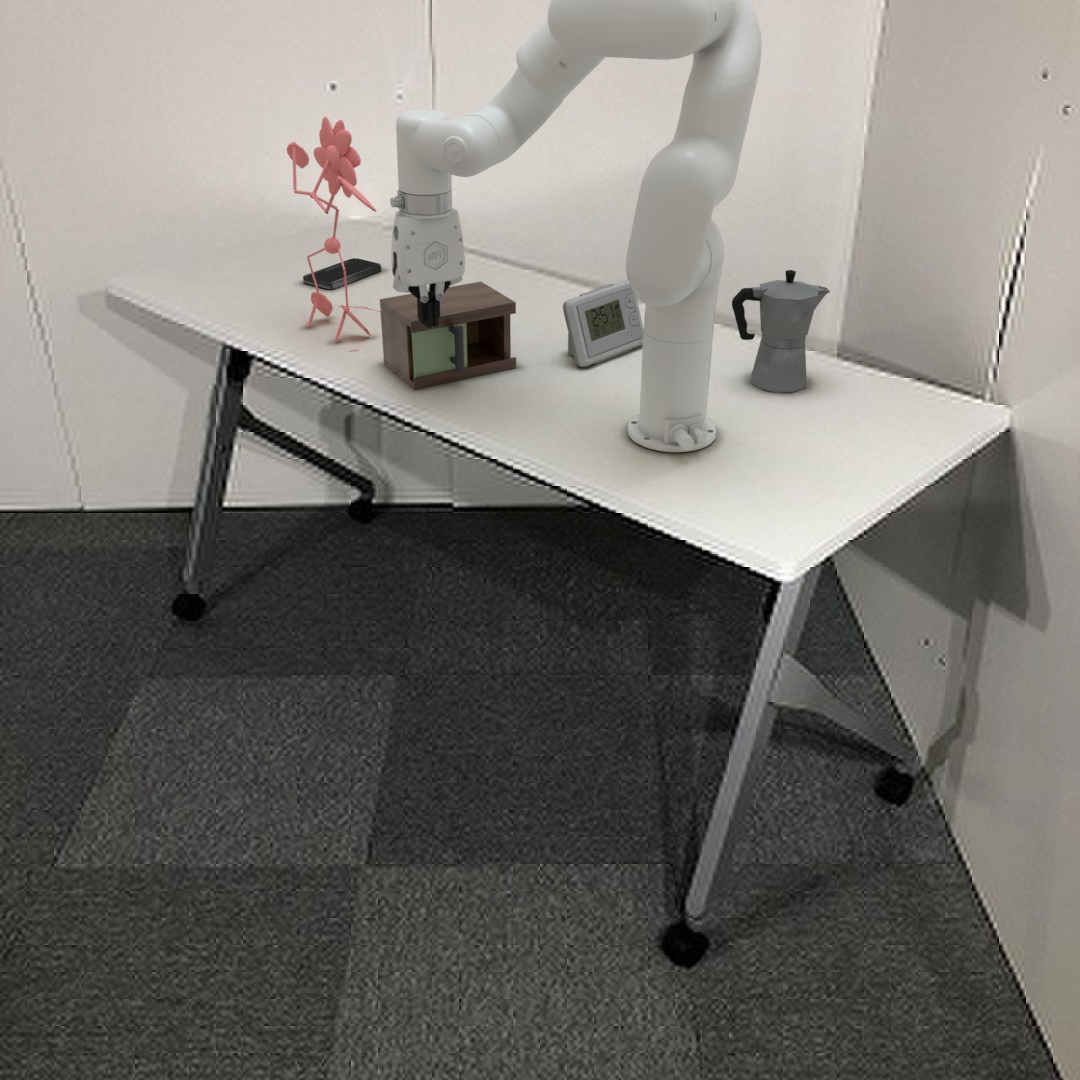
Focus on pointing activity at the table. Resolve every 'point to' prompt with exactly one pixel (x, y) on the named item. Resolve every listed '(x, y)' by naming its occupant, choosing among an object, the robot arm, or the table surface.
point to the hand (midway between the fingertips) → (429, 324)
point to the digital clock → (603, 323)
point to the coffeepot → (780, 330)
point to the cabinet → (458, 305)
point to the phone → (342, 273)
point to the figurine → (339, 173)
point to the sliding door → (439, 350)
